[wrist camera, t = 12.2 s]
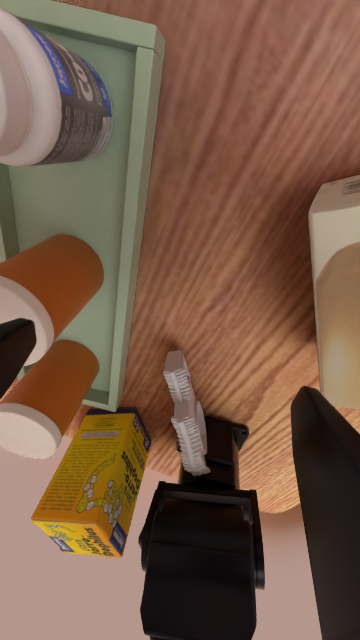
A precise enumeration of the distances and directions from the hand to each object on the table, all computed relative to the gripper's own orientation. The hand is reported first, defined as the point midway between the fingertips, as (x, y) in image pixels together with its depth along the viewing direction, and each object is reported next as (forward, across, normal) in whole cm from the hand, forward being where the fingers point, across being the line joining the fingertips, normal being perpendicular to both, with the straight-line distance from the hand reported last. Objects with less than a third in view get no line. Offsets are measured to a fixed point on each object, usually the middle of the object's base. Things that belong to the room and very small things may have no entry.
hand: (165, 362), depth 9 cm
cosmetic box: (+8, -7, -6) cm, 12 cm away
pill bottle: (+11, +8, -6) cm, 15 cm away
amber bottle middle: (+11, +9, +3) cm, 15 cm away
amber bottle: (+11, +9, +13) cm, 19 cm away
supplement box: (+12, +4, +22) cm, 25 cm away
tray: (+12, +9, +3) cm, 15 cm away
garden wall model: (+11, -2, +14) cm, 18 cm away
